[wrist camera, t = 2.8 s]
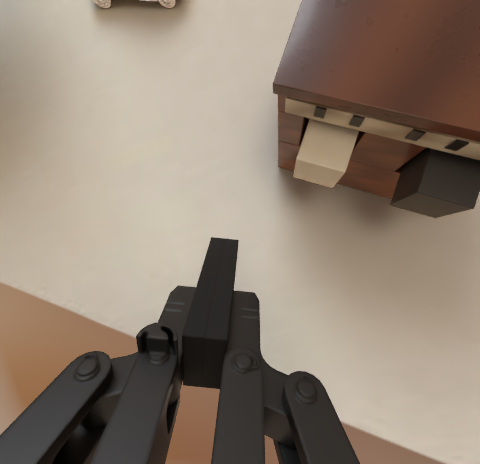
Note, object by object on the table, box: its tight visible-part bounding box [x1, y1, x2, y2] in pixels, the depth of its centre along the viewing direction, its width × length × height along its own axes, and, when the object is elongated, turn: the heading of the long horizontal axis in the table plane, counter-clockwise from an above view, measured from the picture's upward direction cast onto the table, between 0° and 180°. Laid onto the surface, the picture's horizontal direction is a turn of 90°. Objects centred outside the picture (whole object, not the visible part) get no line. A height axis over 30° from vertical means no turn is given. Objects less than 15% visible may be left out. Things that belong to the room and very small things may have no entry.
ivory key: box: [293, 119, 359, 188], centre depth 17 cm, size 3×4×4 cm
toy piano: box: [273, 0, 480, 199], centre depth 19 cm, size 14×8×13 cm, turn 71°
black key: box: [390, 148, 480, 218], centre depth 16 cm, size 3×4×4 cm
